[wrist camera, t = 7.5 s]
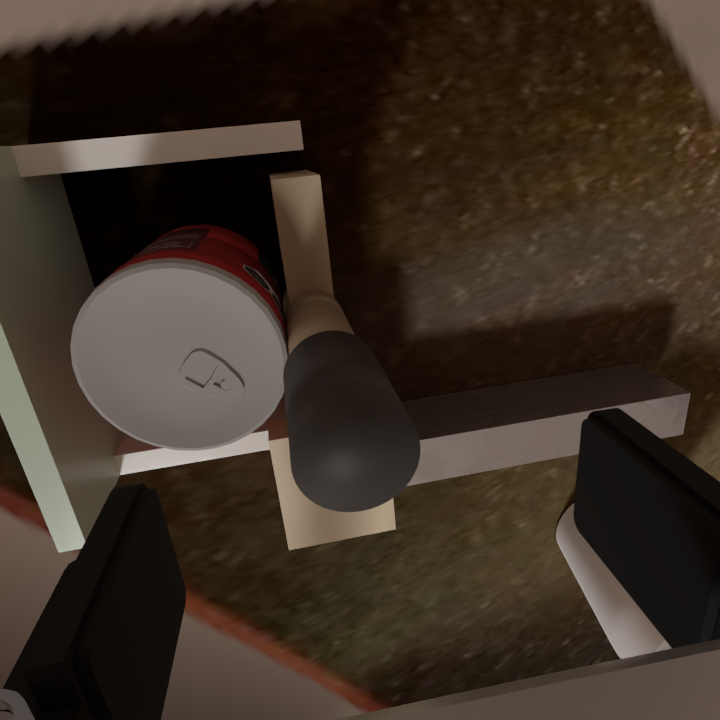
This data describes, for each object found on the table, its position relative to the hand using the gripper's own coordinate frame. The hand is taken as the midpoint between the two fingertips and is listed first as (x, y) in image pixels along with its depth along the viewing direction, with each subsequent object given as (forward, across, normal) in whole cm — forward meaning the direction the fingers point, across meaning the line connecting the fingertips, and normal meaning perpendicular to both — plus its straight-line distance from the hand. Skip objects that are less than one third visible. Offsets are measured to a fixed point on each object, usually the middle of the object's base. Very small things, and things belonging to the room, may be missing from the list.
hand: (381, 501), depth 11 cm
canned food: (+21, +6, 0) cm, 21 cm away
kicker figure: (+20, +1, +3) cm, 20 cm away
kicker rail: (+21, -11, +10) cm, 26 cm away
